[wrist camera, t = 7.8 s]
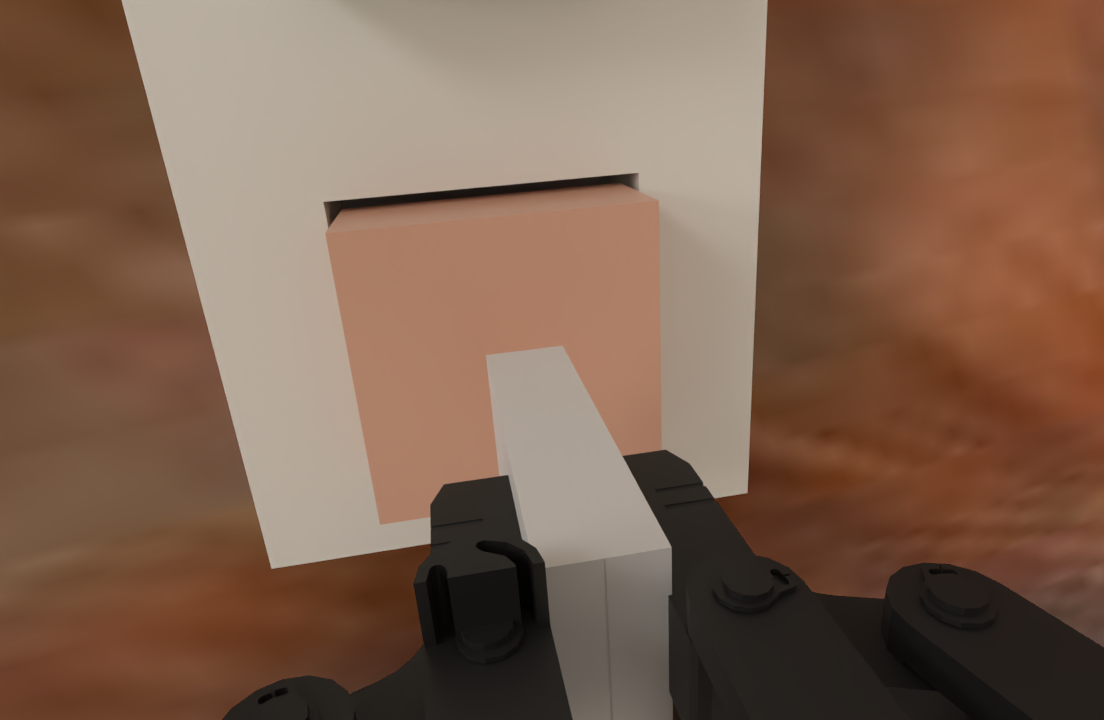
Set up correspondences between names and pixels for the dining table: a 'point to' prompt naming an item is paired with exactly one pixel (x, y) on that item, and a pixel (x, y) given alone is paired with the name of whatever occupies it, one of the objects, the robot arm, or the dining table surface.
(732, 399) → the console
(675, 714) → the coal bowl
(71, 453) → the dining table surface
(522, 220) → the button terracotta
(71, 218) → the dining table surface
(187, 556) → the dining table surface
